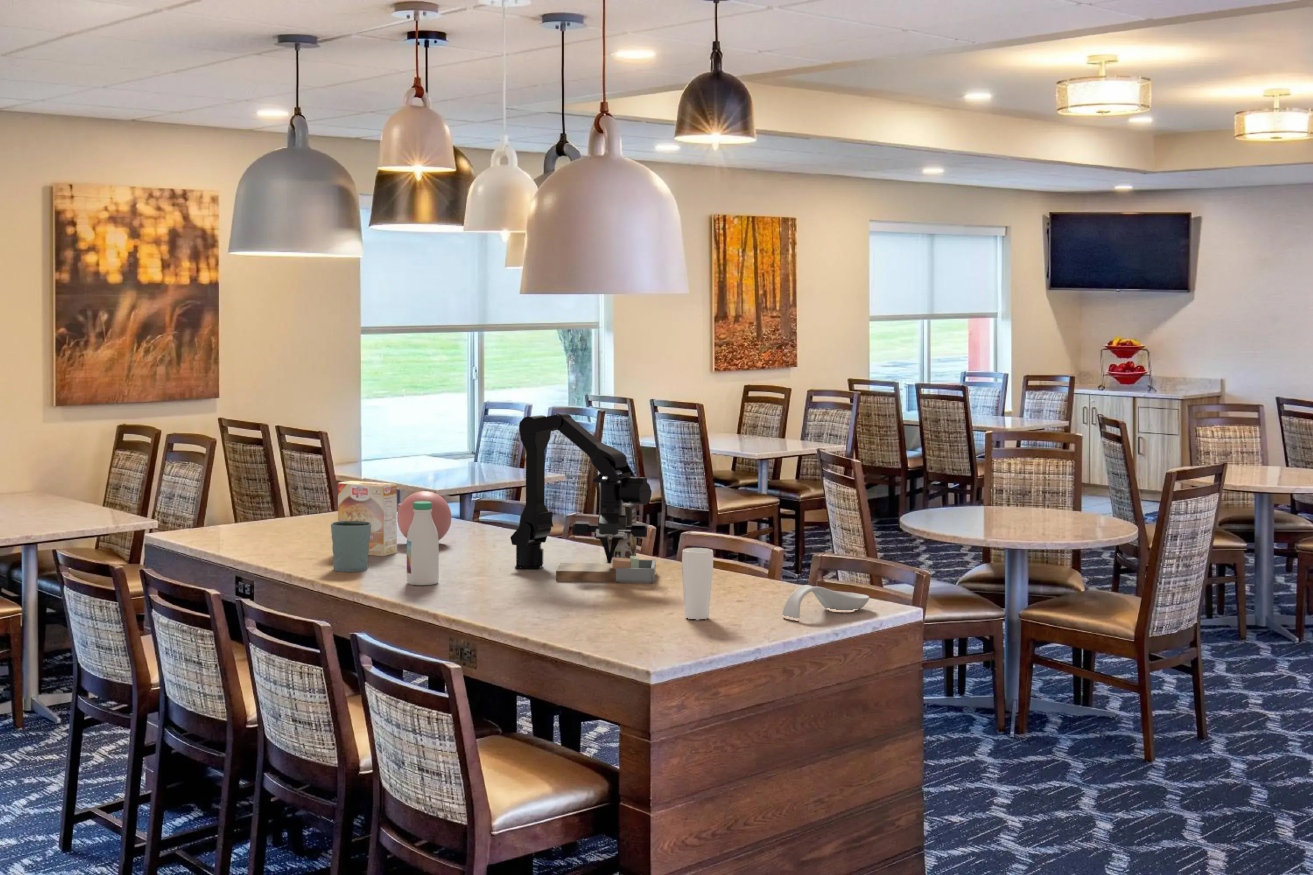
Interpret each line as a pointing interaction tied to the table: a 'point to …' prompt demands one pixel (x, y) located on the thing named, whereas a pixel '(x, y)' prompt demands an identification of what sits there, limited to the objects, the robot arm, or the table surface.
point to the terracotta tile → (620, 563)
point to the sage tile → (634, 562)
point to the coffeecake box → (371, 512)
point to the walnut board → (586, 572)
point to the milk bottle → (422, 547)
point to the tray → (637, 573)
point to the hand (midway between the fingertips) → (609, 563)
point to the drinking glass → (697, 581)
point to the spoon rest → (824, 600)
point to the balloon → (438, 513)
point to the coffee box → (626, 534)
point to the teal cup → (350, 545)
